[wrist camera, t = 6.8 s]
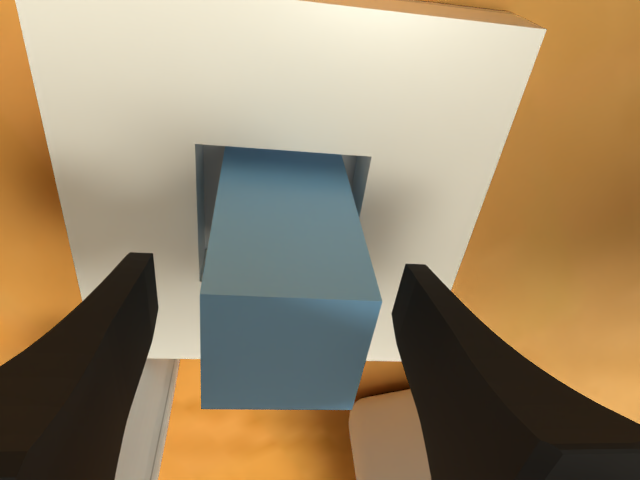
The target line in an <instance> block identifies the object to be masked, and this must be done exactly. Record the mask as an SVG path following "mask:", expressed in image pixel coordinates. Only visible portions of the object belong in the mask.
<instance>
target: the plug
mask: <svg viewBox="0 0 640 480" xmlns="http://www.w3.org/2000/svg"><path fill="white" fill-rule="evenodd" d="M381 305H382V298H381V294H380V291H379V287H378V284H377V280H376V276H375V273H374V269H373V266H372V262H371V259H370V255H369V251H368V248H367V244H366V241H365V237H364V234H363V230H362V226H361V223H360V219H359V216H358V212H357V208H356V205H355V201H354V198H353V194H352V191H351V187H350V183H349V180H348V176H347V173H346V169H345V166H344V162H343V158H342V155H341V154H328V153H314V152H301V151H287V150H273V149H259V148H246V147H232V146H225V150H224V156H223V162H222V167H221V173H220V179H219V185H218V191H217V196H216V202H215V208H214V214H213V220H212V225H211V231H210V237H209V243H208V249H207V254H206V260H205V266H204V272H203V277H202V283H201V289H200V356H201V409H275V410H352V408H353V404H354V401H355V397H356V394H357V390H358V387H359V383H360V380H361V376H362V372H363V369H364V365H365V362H366V358H367V355H368V351H369V348H370V344H371V340H372V337H373V333H374V330H375V326H376V323H377V319H378V316H379V312H380V309H381Z"/></svg>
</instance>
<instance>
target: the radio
mask: <svg viewBox="0 0 640 480" xmlns="http://www.w3.org/2000/svg"><path fill="white" fill-rule="evenodd" d="M349 433H350V440H351V447H352V454H353V461H354V468H355V475H356V480H431V475H430V469H429V464H428V458H427V453H426V448H425V443H424V438H423V433H422V428H421V423H420V420H419V416H418V412H417V409H416V405H415V402H414V399H413V396H412V393H411V390H410V389H408V390H402V391H397V392H392V393H386V394H381V395H376V396H370V397H365V398H362V399H359V400H358V401H356V402H355V403H354V405H353V408H352V410H351V411H350V416H349Z"/></svg>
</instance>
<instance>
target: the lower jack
mask: <svg viewBox="0 0 640 480" xmlns="http://www.w3.org/2000/svg"><path fill="white" fill-rule="evenodd" d="M15 2H16V7H17V11H18V15H19V20H20V24H21V29H22V33H23V38H24V42H25V47H26V51H27V56H28V60H29V65H30V69H31V74H32V78H33V82H34V87H35V91H36V96H37V100H38V105H39V109H40V114H41V118H42V123H43V127H44V132H45V136H46V141H47V145H48V150H49V154H50V158H51V163H52V167H53V172H54V176H55V181H56V185H57V190H58V194H59V199H60V203H61V208H62V212H63V217H64V221H65V226H66V230H67V234H68V239H69V243H70V248H71V252H72V257H73V261H74V266H75V270H76V275H77V279H78V284H79V288H80V293H81V297H82V301H83V300H84V299H85V298H86V297H87V296H88V295H89V294H90V293H91V292H92V291H93V290H94V289H95V288H96V287H97V286H98V285H99V284H100V283H101V282H102V281H103V280H104V279H105V278H106V277H107V276H108V275H109V274H110V273H111V272H112V270H113V269H114V268H115V267H116V266H117V265H118V264H119V263H120V262H121V261H122V259H123V258H124V257H125V256H126V255H127V254H128V253H130V252H137V253H153V258H154V268H155V278H156V287H157V297H158V307H159V308H158V314H157V319H156V325H155V330H154V335H153V340H152V344H151V347H150V350H149V353H148V356H147V358H155V359H201V356H200V289H201V283H202V277H203V272H204V266H205V260H206V254H207V249H208V243H209V237H210V231H211V225H212V220H213V214H214V208H215V202H216V196H217V191H218V185H219V179H220V173H221V167H222V162H223V156H224V150H225V146H232V147H246V148H259V149H273V150H287V151H301V152H314V153H328V154H341V155H342V158H343V162H344V166H345V169H346V173H347V176H348V180H349V183H350V187H351V191H352V194H353V198H354V201H355V205H356V208H357V212H358V216H359V219H360V223H361V226H362V230H363V234H364V237H365V241H366V244H367V248H368V251H369V255H370V259H371V262H372V266H373V269H374V273H375V276H376V280H377V284H378V287H379V291H380V294H381V298H382V305H381V309H380V312H379V316H378V319H377V323H376V326H375V330H374V333H373V337H372V340H371V344H370V348H369V351H368V355H367V358H366V361H401V358H400V354H399V351H398V348H397V344H396V339H395V334H394V328H393V321H392V315H391V313H392V310H393V306H394V303H395V299H396V296H397V292H398V289H399V285H400V282H401V278H402V274H403V271H404V267H405V264H425V265H427V266H428V267H429V268H430V269H431V271H432V272H433V273H434V274H435V275H436V276H437V277H438V278H439V279H440V280H441V281H442V282H443V283H444V284H445V285H446V286H447V287H448V288H449V290H450V291H451V289H452V286H453V283H454V281H455V278H456V275H457V272H458V270H459V267H460V264H461V262H462V259H463V256H464V253H465V251H466V248H467V245H468V242H469V240H470V237H471V234H472V232H473V229H474V226H475V223H476V221H477V218H478V215H479V213H480V210H481V207H482V204H483V202H484V199H485V196H486V193H487V191H488V188H489V185H490V183H491V180H492V177H493V174H494V172H495V169H496V166H497V163H498V161H499V158H500V155H501V153H502V150H503V147H504V144H505V142H506V139H507V136H508V134H509V131H510V128H511V125H512V123H513V120H514V117H515V114H516V112H517V109H518V106H519V104H520V101H521V98H522V95H523V93H524V90H525V87H526V84H527V82H528V79H529V76H530V74H531V71H532V68H533V65H534V63H535V60H536V57H537V55H538V52H539V49H540V46H541V44H542V41H543V38H544V35H545V33H546V30H547V29H545V28H543V27H541V26H539V25H537V24H535V23H532V22H530V21H528V20H526V19H524V18H522V17H520V16H518V15H516V14H514V13H512V12H508V11H500V10H492V9H484V8H475V7H467V6H459V5H451V4H442V3H434V2H426V1H418V0H15Z"/></svg>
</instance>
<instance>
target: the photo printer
mask: <svg viewBox="0 0 640 480" xmlns="http://www.w3.org/2000/svg"><path fill="white" fill-rule="evenodd" d="M179 361H180V359H155V358H147V359H146V363H145V366H144V369H143V372H142V375H141V378H140V381H139V384H138V387H137V390H136V393H135V396H134V400H133V403H132V406H131V409H130V412H129V416H128V419H127V423H126V427H125V431H124V436H123V441H122V445H121V450H120V455H119V459H118V464H117V469H116V475H115V480H158V476H159V471H160V466H161V461H162V456H163V450H164V445H165V440H166V435H167V430H168V424H169V419H170V413H171V408H172V402H173V397H174V391H175V386H176V380H177V374H178V369H179Z"/></svg>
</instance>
